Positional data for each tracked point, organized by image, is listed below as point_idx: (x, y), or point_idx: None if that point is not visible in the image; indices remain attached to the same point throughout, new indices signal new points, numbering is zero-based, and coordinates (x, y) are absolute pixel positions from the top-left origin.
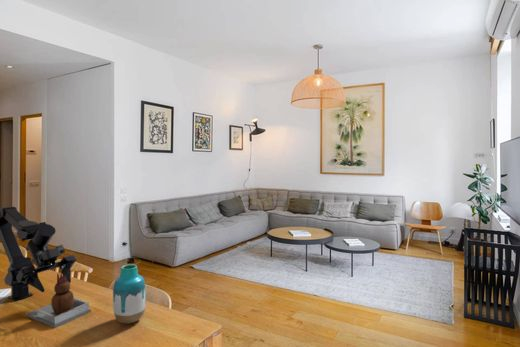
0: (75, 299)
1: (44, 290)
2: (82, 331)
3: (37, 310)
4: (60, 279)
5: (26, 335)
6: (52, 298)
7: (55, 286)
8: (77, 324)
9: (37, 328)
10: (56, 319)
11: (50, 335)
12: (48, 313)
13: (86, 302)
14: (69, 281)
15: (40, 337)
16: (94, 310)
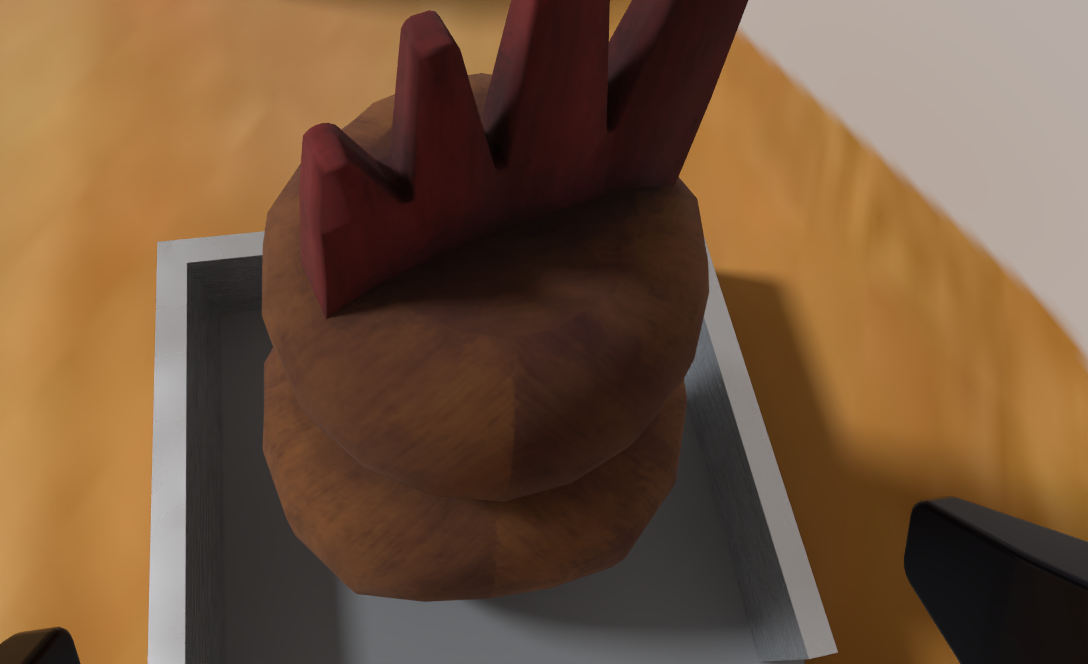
0: (187, 566)
1: (919, 501)
2: (499, 5)
3: (830, 642)
4: (587, 72)
5: (918, 325)
6: (686, 399)
7: (703, 239)
8: None
9: (806, 391)
10: None
11: (732, 149)
12: (724, 356)
13: (171, 276)
14: (51, 646)
15: (812, 183)
16: (134, 303)
